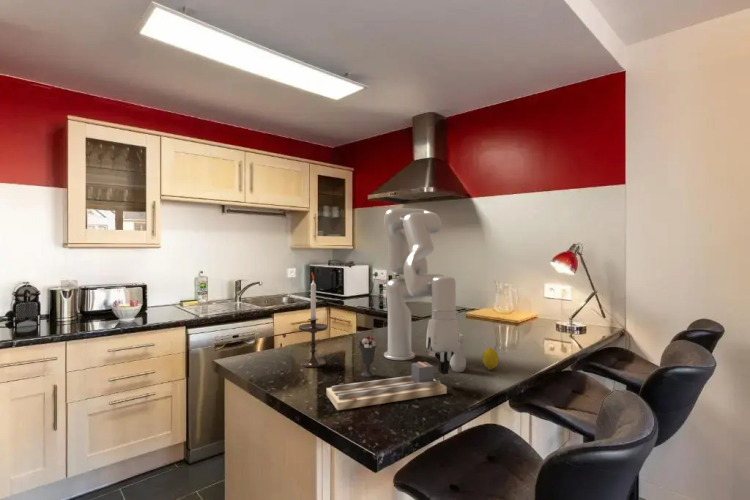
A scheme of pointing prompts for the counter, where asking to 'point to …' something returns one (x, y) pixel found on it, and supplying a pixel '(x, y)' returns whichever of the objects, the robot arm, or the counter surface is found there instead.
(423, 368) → the fader knob
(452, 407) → the counter surface
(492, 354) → the lemon
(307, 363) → the candlestick
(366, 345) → the sundae
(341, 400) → the fader board
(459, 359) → the salt shaker
